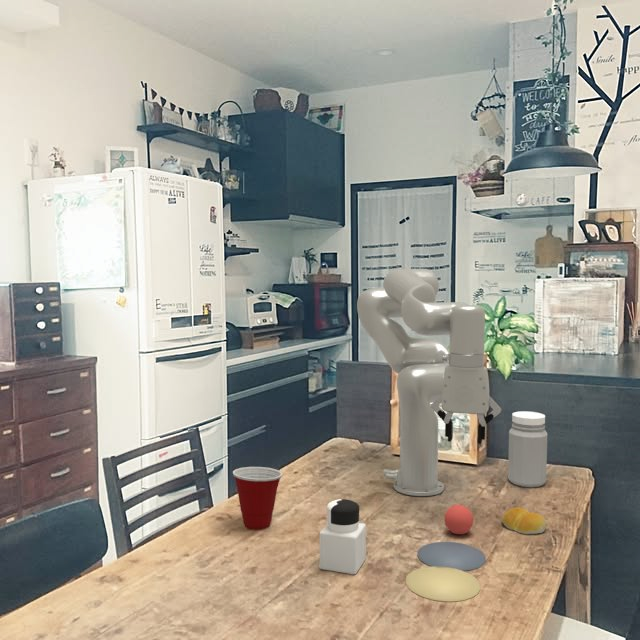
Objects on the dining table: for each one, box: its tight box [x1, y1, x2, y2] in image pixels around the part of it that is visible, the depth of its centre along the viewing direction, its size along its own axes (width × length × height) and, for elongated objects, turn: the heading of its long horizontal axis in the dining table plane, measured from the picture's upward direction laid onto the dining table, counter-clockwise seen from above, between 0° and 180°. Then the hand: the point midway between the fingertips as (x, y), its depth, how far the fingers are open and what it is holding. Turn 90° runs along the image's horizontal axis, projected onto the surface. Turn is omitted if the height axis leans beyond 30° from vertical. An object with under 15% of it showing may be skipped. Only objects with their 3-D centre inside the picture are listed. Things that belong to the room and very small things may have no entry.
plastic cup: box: [232, 466, 284, 531], centre depth 147 cm, size 11×11×12 cm
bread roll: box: [501, 506, 547, 535], centre depth 146 cm, size 8×9×4 cm
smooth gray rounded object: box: [417, 541, 487, 572], centre depth 131 cm, size 13×13×1 cm
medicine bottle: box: [318, 498, 367, 575], centre depth 127 cm, size 7×7×12 cm
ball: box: [443, 504, 474, 535], centre depth 142 cm, size 6×6×6 cm
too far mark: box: [405, 566, 481, 603], centre depth 120 cm, size 13×13×1 cm
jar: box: [507, 410, 548, 488], centre depth 176 cm, size 10×10×18 cm
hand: (464, 440), depth 150 cm, fingers open, 5 cm apart
